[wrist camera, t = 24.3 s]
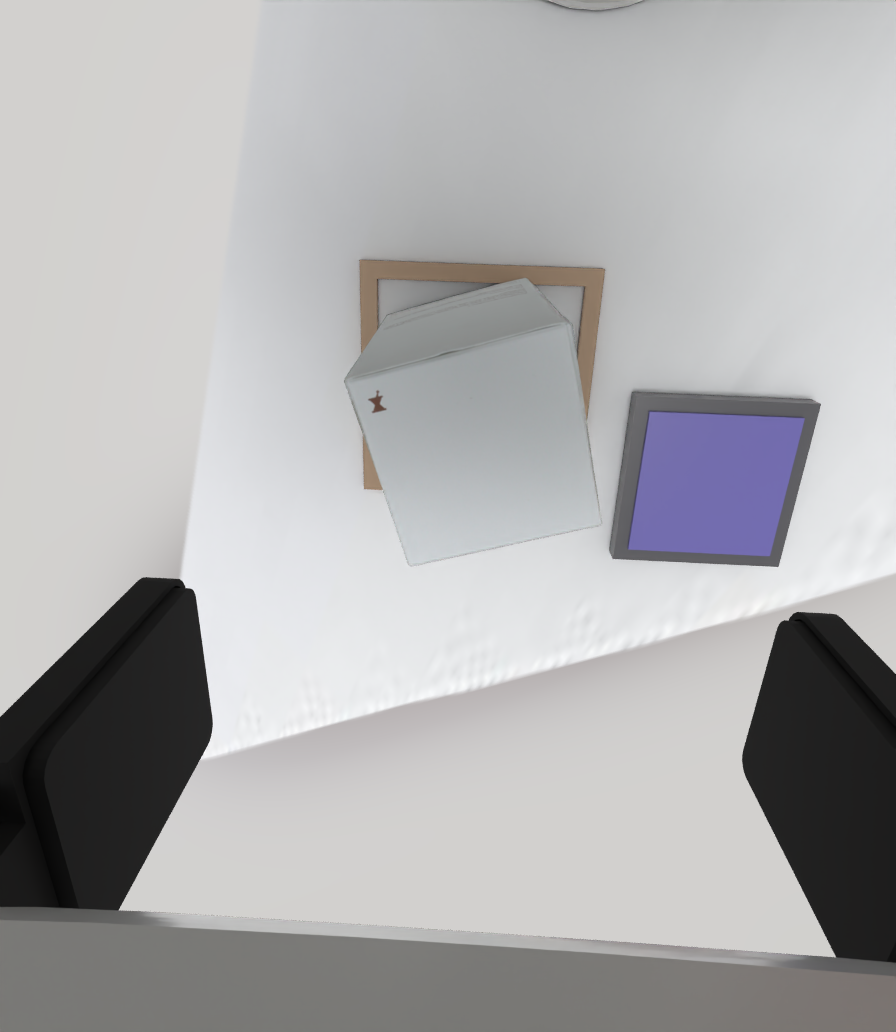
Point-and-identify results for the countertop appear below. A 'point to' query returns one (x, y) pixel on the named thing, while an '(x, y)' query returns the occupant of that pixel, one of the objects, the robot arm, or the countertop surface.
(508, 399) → the supplement box
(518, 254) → the countertop surface
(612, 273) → the countertop surface
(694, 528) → the ink pad
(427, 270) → the tan picture frame
